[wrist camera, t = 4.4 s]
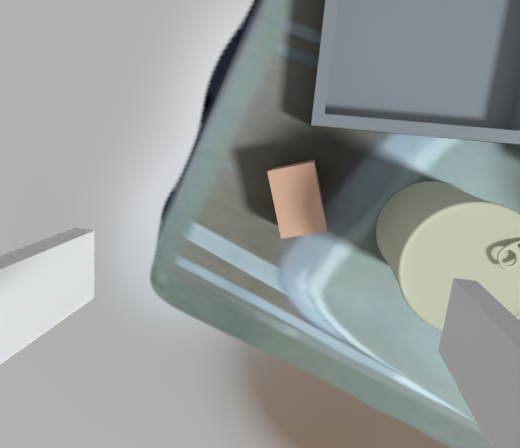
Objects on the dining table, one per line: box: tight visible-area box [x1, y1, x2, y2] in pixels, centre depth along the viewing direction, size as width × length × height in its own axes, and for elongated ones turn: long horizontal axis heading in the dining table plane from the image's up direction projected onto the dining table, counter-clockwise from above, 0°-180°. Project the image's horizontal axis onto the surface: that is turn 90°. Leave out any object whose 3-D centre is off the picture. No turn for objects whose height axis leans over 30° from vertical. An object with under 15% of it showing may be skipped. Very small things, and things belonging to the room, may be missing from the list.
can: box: [376, 181, 520, 330], centre depth 32 cm, size 9×9×12 cm
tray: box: [311, 0, 520, 145], centre depth 34 cm, size 17×13×3 cm
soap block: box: [267, 159, 327, 239], centre depth 37 cm, size 6×4×4 cm, turn 12°
